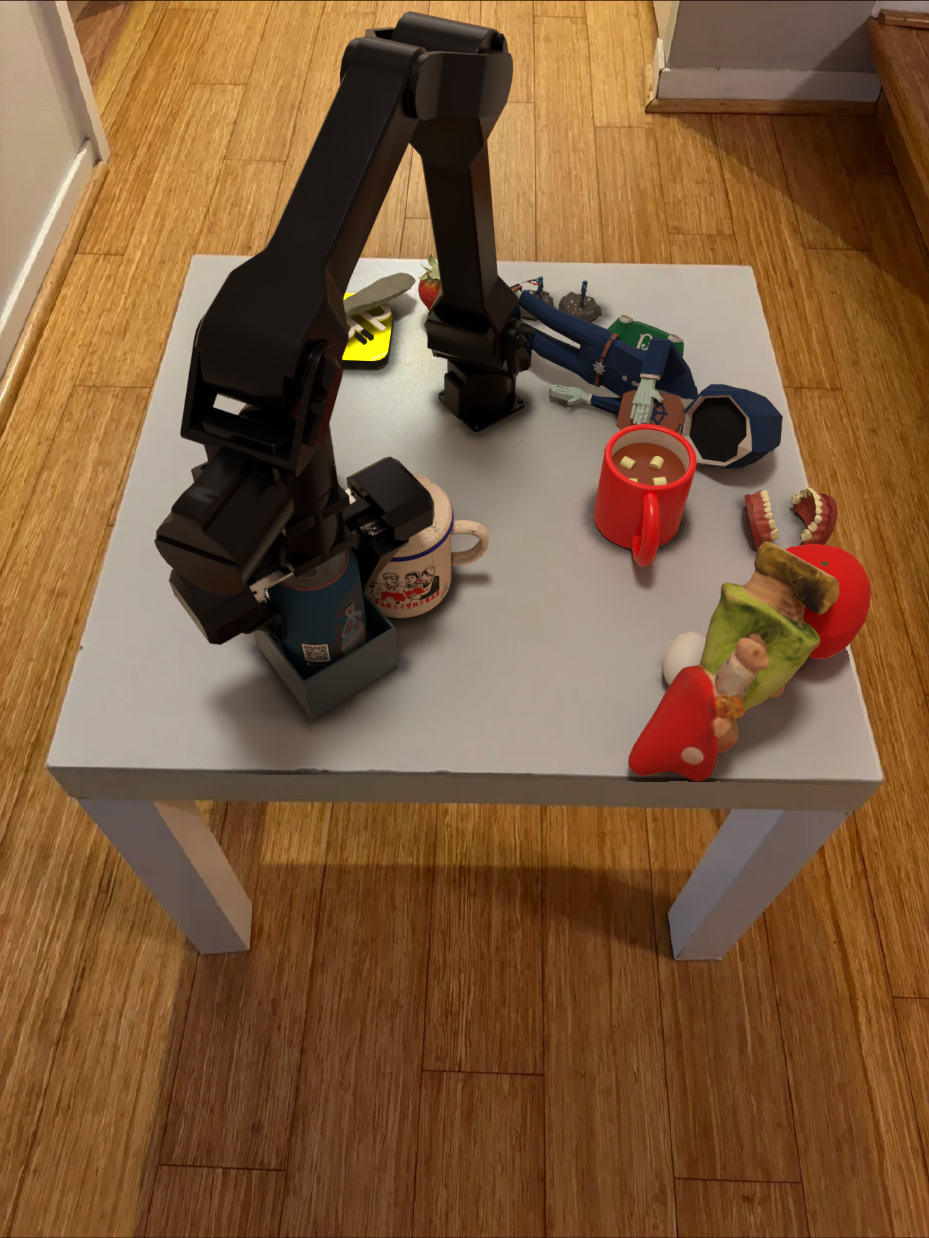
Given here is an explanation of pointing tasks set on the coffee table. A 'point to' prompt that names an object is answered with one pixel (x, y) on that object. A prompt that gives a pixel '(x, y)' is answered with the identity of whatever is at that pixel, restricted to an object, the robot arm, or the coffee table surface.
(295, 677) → the bin
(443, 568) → the teacup with lid
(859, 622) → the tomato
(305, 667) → the soda can
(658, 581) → the coffee table surface
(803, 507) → the dentures
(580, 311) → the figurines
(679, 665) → the egg
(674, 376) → the figurine
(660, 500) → the mug
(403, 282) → the stone
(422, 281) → the fruit
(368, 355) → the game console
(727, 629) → the figurine
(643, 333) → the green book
